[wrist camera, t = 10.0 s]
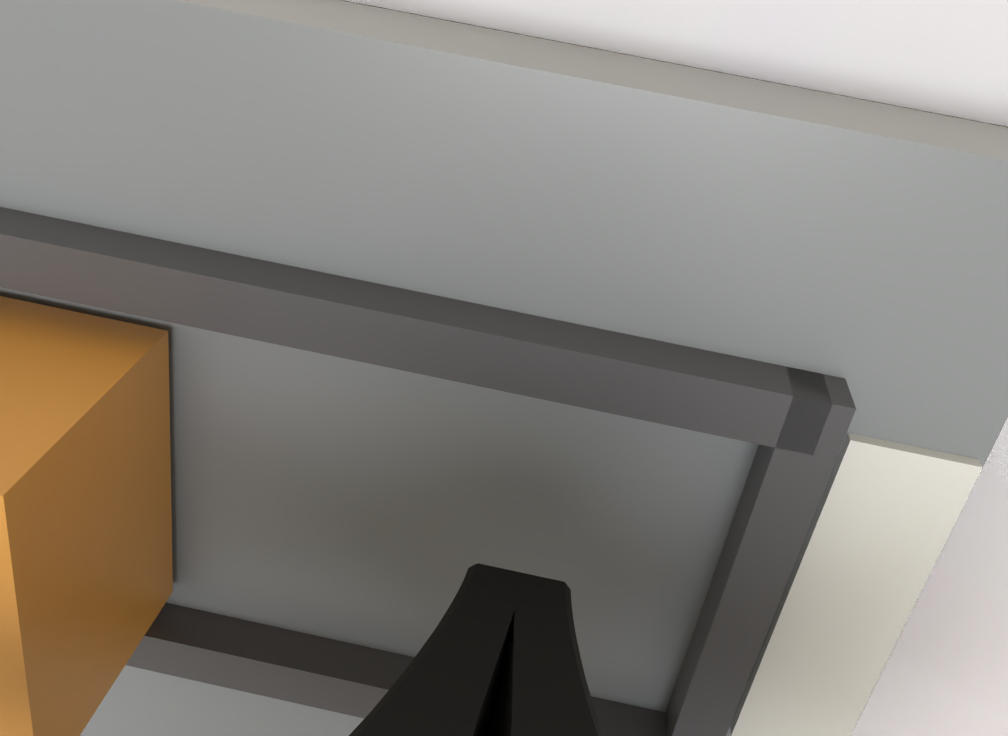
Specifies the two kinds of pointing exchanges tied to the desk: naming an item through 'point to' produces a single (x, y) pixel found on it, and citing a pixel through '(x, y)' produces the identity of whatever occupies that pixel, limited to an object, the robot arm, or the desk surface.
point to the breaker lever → (78, 509)
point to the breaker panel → (512, 350)
